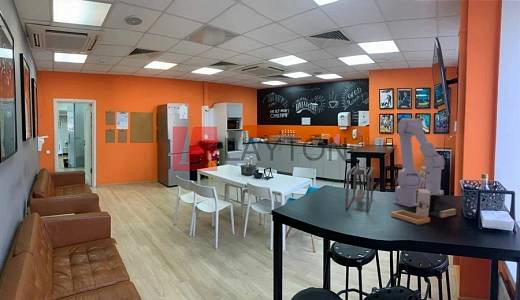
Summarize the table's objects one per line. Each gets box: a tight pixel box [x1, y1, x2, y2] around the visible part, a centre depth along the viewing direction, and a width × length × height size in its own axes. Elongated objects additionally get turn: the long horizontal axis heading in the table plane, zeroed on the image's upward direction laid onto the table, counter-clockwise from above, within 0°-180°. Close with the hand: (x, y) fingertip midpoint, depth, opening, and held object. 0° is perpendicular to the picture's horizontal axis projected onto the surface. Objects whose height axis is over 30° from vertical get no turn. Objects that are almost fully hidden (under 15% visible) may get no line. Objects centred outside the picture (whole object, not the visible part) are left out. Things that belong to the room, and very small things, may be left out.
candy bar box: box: [418, 166, 427, 190], centre depth 180 cm, size 11×5×16 cm, turn 168°
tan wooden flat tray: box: [390, 209, 431, 226], centre depth 136 cm, size 13×8×2 cm, turn 30°
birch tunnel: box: [438, 208, 457, 218], centre depth 146 cm, size 11×11×2 cm
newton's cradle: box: [344, 165, 375, 212], centre depth 160 cm, size 30×10×18 cm, turn 156°
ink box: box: [415, 188, 431, 217], centre depth 139 cm, size 9×5×12 cm, turn 150°
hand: (431, 211), depth 143 cm, fingers closed
